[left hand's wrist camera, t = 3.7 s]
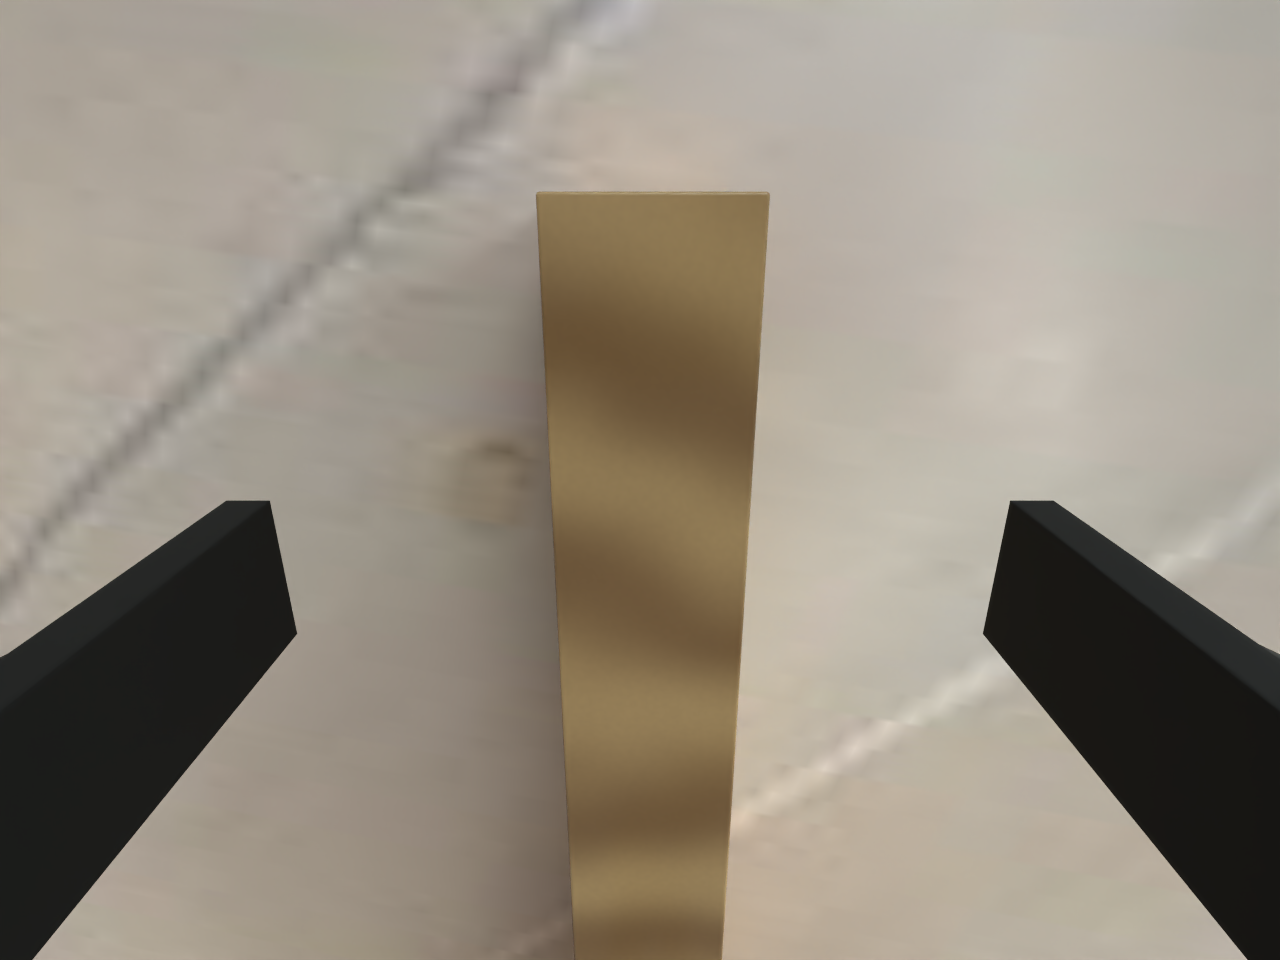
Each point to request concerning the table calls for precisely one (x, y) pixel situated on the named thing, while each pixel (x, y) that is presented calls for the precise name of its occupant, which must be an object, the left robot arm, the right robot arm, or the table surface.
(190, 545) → the left robot arm
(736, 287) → the bar
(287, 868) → the table surface
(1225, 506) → the table surface
